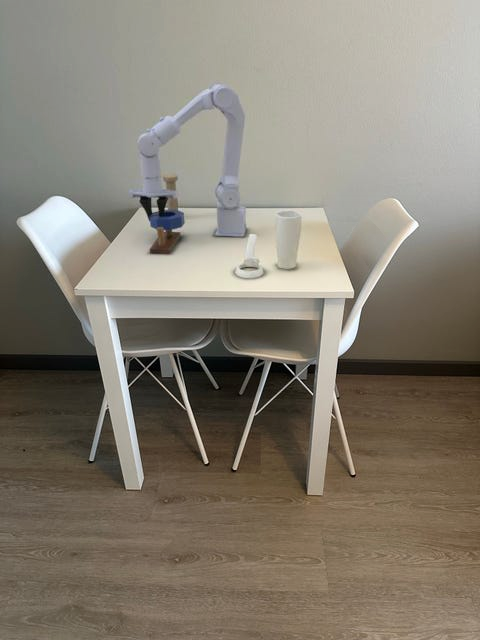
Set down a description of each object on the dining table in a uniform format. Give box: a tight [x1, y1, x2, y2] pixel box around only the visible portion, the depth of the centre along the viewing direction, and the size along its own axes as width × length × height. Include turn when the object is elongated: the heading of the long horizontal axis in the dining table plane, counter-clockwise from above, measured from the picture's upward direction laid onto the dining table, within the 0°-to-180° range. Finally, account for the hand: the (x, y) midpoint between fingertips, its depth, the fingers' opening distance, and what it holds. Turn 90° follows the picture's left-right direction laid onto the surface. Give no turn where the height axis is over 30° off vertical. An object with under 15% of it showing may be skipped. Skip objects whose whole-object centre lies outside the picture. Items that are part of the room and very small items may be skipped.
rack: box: [149, 227, 182, 255], centre depth 144 cm, size 6×15×7 cm, turn 173°
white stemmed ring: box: [234, 233, 264, 279], centre depth 127 cm, size 8×12×7 cm
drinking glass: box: [275, 209, 302, 270], centre depth 127 cm, size 7×7×15 cm
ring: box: [149, 209, 185, 231], centre depth 147 cm, size 10×10×3 cm
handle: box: [162, 172, 179, 211], centre depth 166 cm, size 5×6×15 cm
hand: (156, 220), depth 147 cm, fingers closed on ring, 3 cm apart
